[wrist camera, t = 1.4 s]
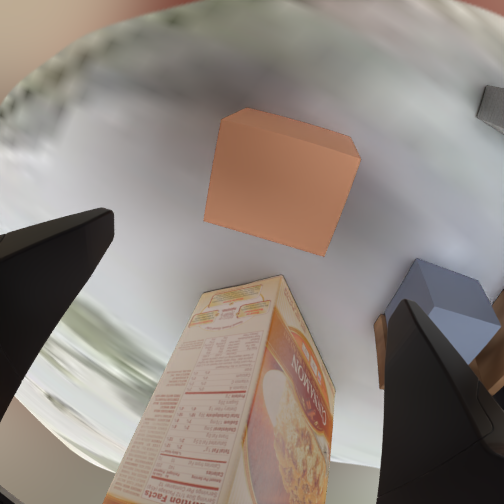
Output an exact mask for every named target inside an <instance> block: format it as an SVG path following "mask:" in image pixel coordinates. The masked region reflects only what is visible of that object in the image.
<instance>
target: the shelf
mask: <svg viewBox="0 0 504 504" xmlns="http://www.w3.org/2000/svg"><path fill="white" fill-rule="evenodd" d="M492 308H493V310H494V312H495V314H496V316H497V318H498V320H499V322H500V324H501V328H500V329H499V330H498V331H497V333H496V334H495V335H494V336H493V337H492V339H491V340H490V341H489V342H488V343H487V345H486V346H485V347H484V348H483V349H482V350H481V352H480V353H479V354H478V355H477V356H476V357H475V358H474V359H473V360H472V362H471V363H470V364H469V367H470V368H471V369H472V371H473V372H474V373H475V374H476V376H477V377H478V379H479V380H480V381H481V382H482V384H483V385H484V386H485V388H486V389H487V390H488V392H489V393H490V394H491V396H493V395H494V394H495V393H496V392H498V391H499V390H500V389H501V388H502V387H503V386H504V289H503V291H502V292H501V294H500V295H499V297H498V298H497V300H496V301H495V302H494V304H493V305H492ZM374 331H375V341H376V350H377V361H378V374H379V388H380V389H383V390H384V367H385V354H386V342H387V322H386V316H385V315H382V314H381V315H380V316H379V318H378V319H377V321H376V322H375V324H374Z"/></svg>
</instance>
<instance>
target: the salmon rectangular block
mask: <svg viewBox="0 0 504 504" xmlns="http://www.w3.org/2000/svg"><path fill="white" fill-rule="evenodd" d="M360 161H361V158H360V156H359V153H358V151H357V149H356V147H355V145H354V143H353V141H352V139H351V137H349V136H346V135H343V134H340V133H337V132H334V131H331V130H328V129H324V128H321V127H318V126H315V125H311V124H308V123H304V122H301V121H297V120H294V119H290V118H287V117H283V116H279V115H275V114H271V113H267V112H263V111H259V110H255V109H251V108H245V109H242V110H240V111H238V112H236V113H234V114H232V115H230V116H227V117H225V118H223V119H221V123H220V128H219V133H218V139H217V144H216V149H215V155H214V160H213V166H212V172H211V178H210V183H209V189H208V195H207V202H206V208H205V214H204V220H203V221H205V222H208V223H212V224H215V225H219V226H222V227H226V228H229V229H233V230H236V231H239V232H243V233H246V234H250V235H253V236H256V237H260V238H263V239H266V240H270V241H273V242H276V243H280V244H283V245H286V246H290V247H293V248H296V249H300V250H303V251H306V252H310V253H313V254H316V255H320V256H323V257H324V256H325V253H326V251H327V248H328V246H329V243H330V241H331V238H332V236H333V233H334V231H335V228H336V226H337V223H338V221H339V218H340V216H341V213H342V210H343V208H344V205H345V202H346V200H347V197H348V194H349V192H350V189H351V186H352V183H353V181H354V178H355V175H356V172H357V170H358V167H359V164H360Z"/></svg>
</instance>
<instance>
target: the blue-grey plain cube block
mask: <svg viewBox="0 0 504 504" xmlns="http://www.w3.org/2000/svg"><path fill="white" fill-rule="evenodd" d="M402 299H409V300H412V301H415V302H416V303H417V304H418V305H419V306H420V307H421V308H422V310H423V311H424V312H425V313H426V314H427V315H428V317H429V318H430V319H431V320H432V321H433V322H434V324H435V325H436V326H437V327H438V328H439V329H440V331H441V332H442V333H443V334H444V335H445V337H446V338H447V339H448V340H449V342H450V343H451V344H452V345H453V346H454V348H455V349H456V350H457V351H458V353H459V354H460V355H461V356H462V358H463V359H464V360H465V362H466V363H467V364H468V365H469V364H470V363H471V362H472V360H473V359H474V358H475V357H476V356H477V355H478V354H479V353H480V352H481V350H482V349H483V348H484V347H485V346H486V345H487V343H488V342H489V341H490V340H491V339H492V337H493V336H494V335H495V334H496V333H497V331H498V330H499V329H500V328H501V324H500V322H499V320H498V318H497V316H496V314H495V312H494V310H493V308H492V306H491V304H490V302H489V300H488V298H487V296H486V294H485V292H484V290H483V288H482V287H481V285H480V283H479V281H478V280H475V279H472V278H470V277H467V276H464V275H462V274H459V273H456V272H454V271H451V270H448V269H445V268H443V267H440V266H437V265H434V264H432V263H429V262H426V261H423V260H420V259H418V258H416V259H415V261H414V263H413V265H412V267H411V268H410V270H409V272H408V274H407V275H406V277H405V279H404V281H403V282H402V284H401V286H400V287H399V289H398V291H397V292H396V294H395V296H394V297H393V299H392V301H391V302H390V304H389V305H388V307H387V309H386V310H385V316H386V322H387V328H388V321H389V319H390V317H391V315H392V314H393V312H394V310H395V309H396V307H397V306H398V304H399V303H400V301H401V300H402Z"/></svg>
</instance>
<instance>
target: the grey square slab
mask: <svg viewBox="0 0 504 504" xmlns="http://www.w3.org/2000/svg"><path fill="white" fill-rule="evenodd" d="M477 118H478V119H480V120H482V121H483V122H485V123H487V124H488V125H490V126H491V127H493V128H495V129H496V130H498V131H499V132H501V133H502V134H504V88H499V87H493V86H488V85H487V86H486V90H485V93H484V97H483V100H482V103H481V106H480V110H479V113H478V116H477Z"/></svg>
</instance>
